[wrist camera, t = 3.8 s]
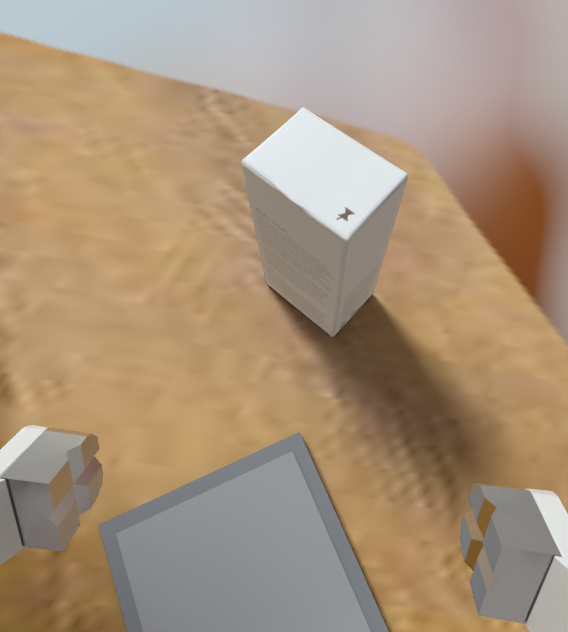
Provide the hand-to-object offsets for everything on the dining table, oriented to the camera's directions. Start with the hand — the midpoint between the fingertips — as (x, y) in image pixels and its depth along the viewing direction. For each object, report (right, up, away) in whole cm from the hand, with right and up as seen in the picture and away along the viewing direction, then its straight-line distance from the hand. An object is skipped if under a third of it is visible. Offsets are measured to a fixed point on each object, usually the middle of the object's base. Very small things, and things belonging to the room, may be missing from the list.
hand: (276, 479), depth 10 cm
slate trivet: (-2, -11, +14) cm, 18 cm away
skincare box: (+2, +5, +20) cm, 21 cm away
